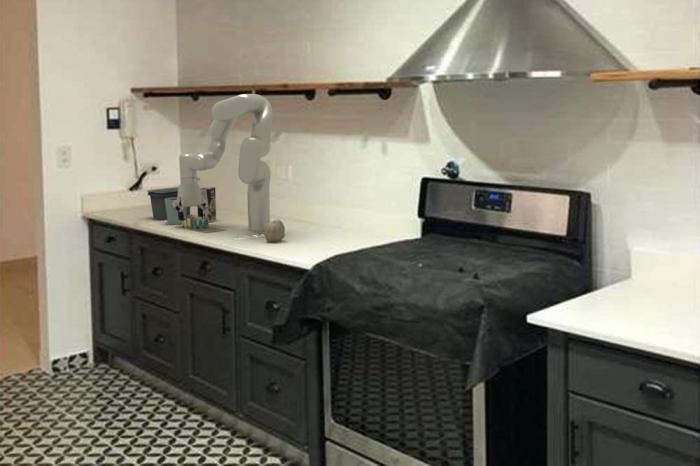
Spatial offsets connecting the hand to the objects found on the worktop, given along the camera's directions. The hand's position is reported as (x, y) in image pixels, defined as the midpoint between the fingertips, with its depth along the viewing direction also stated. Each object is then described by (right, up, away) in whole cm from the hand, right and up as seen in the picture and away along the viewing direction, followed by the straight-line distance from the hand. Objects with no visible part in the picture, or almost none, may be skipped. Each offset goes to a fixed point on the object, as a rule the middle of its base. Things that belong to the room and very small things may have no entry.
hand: (190, 219), depth 369 cm
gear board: (+6, -6, -6) cm, 10 cm away
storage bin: (-18, +1, +39) cm, 43 cm away
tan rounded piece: (+40, -10, -32) cm, 53 cm away
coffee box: (+3, -1, +24) cm, 25 cm away
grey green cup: (-10, -2, +18) cm, 21 cm away
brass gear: (0, -3, +1) cm, 3 cm away
